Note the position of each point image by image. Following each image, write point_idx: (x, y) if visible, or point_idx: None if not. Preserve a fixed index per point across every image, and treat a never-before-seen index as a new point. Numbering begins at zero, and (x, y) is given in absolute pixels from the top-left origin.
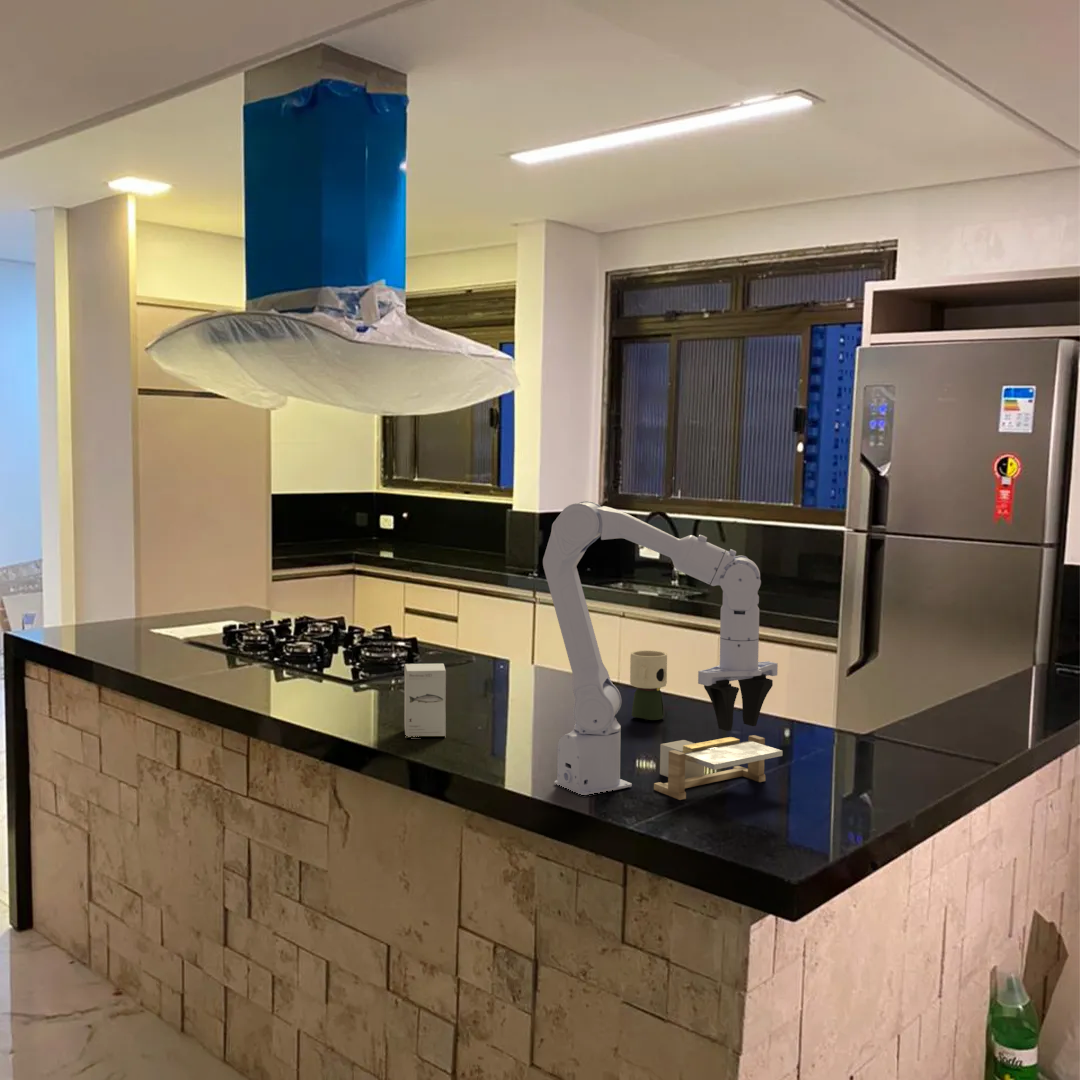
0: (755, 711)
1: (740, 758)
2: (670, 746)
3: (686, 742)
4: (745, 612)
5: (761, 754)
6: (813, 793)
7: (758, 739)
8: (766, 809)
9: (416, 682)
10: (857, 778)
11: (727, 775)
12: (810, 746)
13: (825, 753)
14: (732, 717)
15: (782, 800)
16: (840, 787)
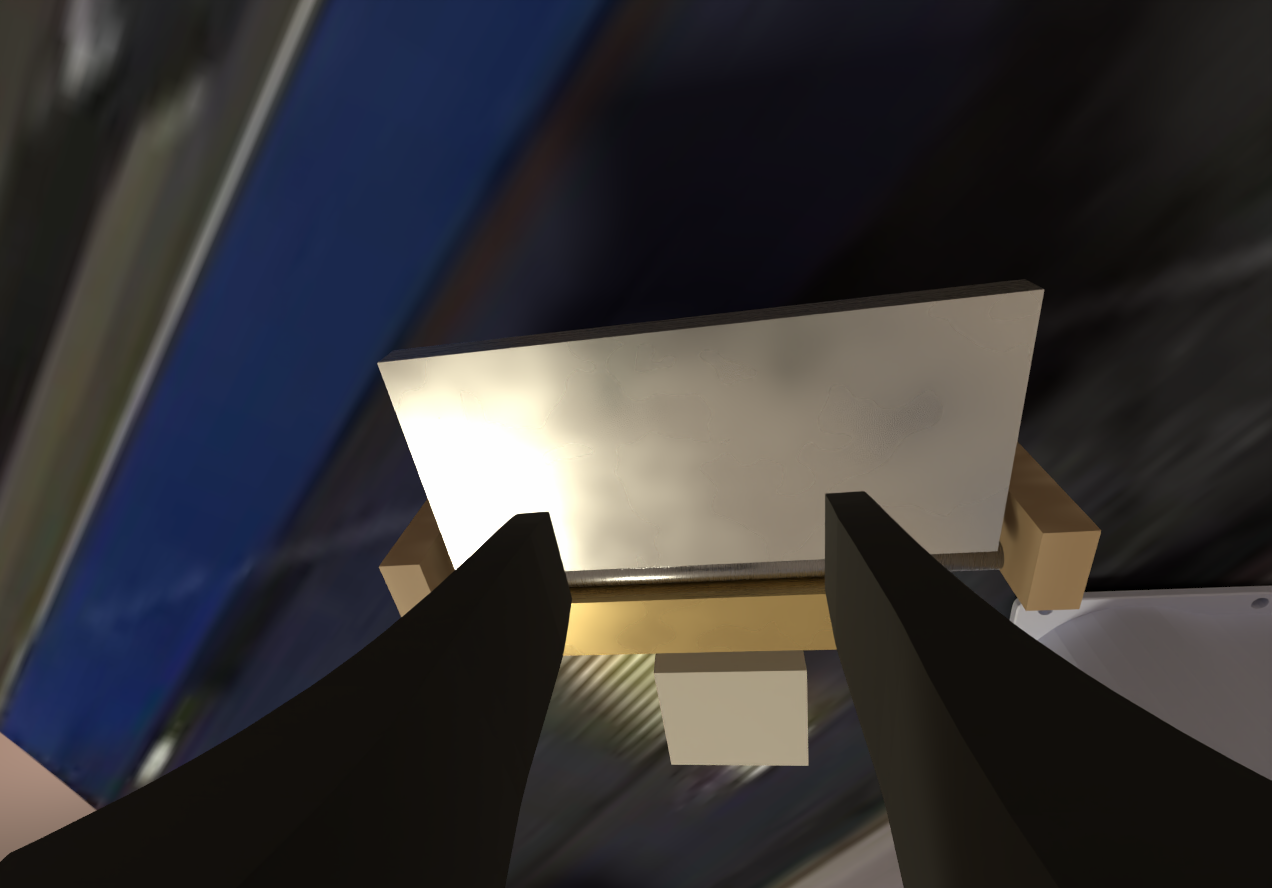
0: (496, 595)
1: (757, 332)
2: (796, 730)
3: (687, 739)
4: None
5: (559, 350)
6: (335, 201)
7: (422, 568)
8: (707, 76)
9: None
10: (48, 298)
11: None
12: (123, 652)
13: (92, 583)
14: (872, 556)
15: (539, 174)
16: (169, 222)
